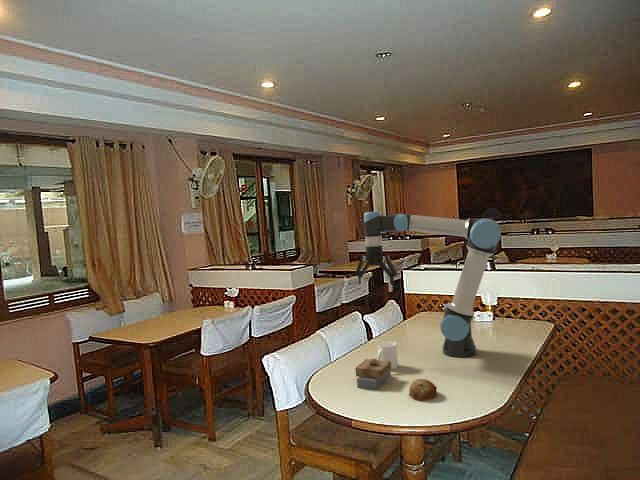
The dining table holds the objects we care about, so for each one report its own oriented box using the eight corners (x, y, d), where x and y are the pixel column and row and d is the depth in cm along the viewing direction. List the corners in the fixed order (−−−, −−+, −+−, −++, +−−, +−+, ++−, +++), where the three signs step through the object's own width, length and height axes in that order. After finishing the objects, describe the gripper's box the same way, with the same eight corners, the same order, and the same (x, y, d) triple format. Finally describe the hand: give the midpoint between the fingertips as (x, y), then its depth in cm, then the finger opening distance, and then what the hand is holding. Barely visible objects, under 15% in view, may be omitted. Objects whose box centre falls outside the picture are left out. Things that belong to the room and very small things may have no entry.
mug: (386, 374, 199) (385, 350, 199) (370, 371, 205) (369, 347, 204) (401, 365, 208) (400, 342, 208) (385, 362, 214) (384, 340, 213)
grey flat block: (390, 375, 197) (390, 367, 197) (376, 390, 183) (375, 381, 183) (372, 373, 201) (372, 365, 201) (357, 387, 187) (356, 378, 187)
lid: (391, 369, 194) (390, 356, 194) (381, 379, 185) (380, 365, 184) (366, 367, 199) (365, 354, 199) (355, 376, 190) (355, 362, 190)
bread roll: (411, 400, 180) (401, 382, 179) (434, 386, 181) (424, 369, 180) (419, 411, 170) (408, 392, 170) (443, 396, 171) (433, 378, 170)
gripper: (402, 243, 214) (405, 290, 216) (352, 245, 226) (355, 289, 228) (397, 245, 208) (399, 293, 209) (345, 246, 220) (348, 292, 221)
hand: (376, 291), depth 218 cm, fingers open, 13 cm apart
